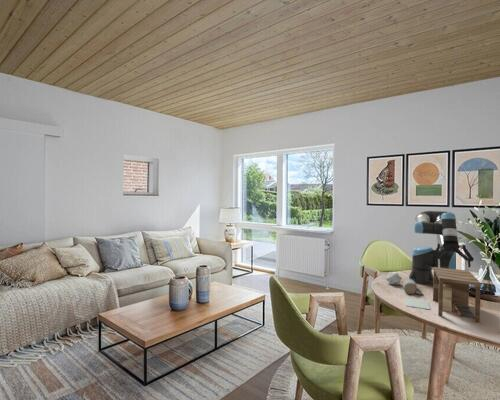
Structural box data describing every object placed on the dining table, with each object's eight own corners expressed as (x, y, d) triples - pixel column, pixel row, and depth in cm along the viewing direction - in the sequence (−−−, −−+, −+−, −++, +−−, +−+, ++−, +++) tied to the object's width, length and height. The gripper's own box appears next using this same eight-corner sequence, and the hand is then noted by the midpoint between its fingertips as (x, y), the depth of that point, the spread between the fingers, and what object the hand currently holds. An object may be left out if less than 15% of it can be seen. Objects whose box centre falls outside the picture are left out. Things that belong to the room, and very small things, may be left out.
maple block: (438, 306, 157) (438, 283, 156) (449, 308, 154) (450, 285, 154) (439, 309, 152) (440, 286, 152) (451, 311, 150) (451, 287, 150)
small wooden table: (432, 299, 166) (433, 267, 166) (467, 304, 159) (468, 270, 159) (438, 316, 144) (439, 278, 144) (479, 322, 137) (480, 282, 136)
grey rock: (400, 288, 189) (405, 274, 192) (387, 280, 191) (393, 267, 194) (394, 288, 197) (399, 276, 200) (382, 281, 198) (387, 269, 201)
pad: (405, 299, 167) (405, 298, 167) (427, 302, 162) (427, 301, 162) (405, 305, 157) (405, 305, 157) (429, 309, 152) (429, 309, 152)
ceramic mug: (403, 293, 176) (404, 281, 176) (402, 289, 184) (402, 278, 183) (423, 296, 172) (423, 283, 172) (421, 292, 180) (421, 280, 179)
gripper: (426, 234, 182) (428, 267, 173) (476, 235, 171) (481, 271, 161) (425, 238, 188) (427, 271, 179) (474, 240, 177) (479, 275, 167)
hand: (453, 271), depth 170 cm, fingers open, 13 cm apart
